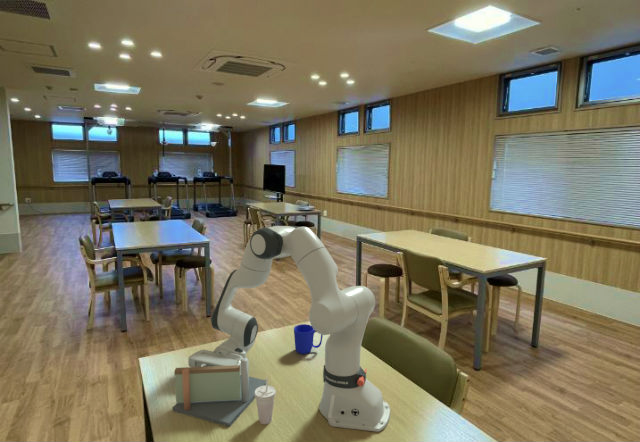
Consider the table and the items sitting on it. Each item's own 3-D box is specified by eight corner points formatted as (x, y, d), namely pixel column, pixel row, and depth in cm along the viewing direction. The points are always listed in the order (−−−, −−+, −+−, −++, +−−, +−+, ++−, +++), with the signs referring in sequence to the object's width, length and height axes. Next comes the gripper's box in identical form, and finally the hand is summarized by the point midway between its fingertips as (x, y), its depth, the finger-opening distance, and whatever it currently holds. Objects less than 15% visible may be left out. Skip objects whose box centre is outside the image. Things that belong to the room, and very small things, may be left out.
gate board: (267, 383, 136) (267, 343, 134) (229, 426, 114) (228, 379, 111) (217, 372, 143) (216, 333, 141) (172, 410, 121) (170, 365, 119)
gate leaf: (240, 396, 125) (239, 365, 124) (240, 399, 124) (239, 368, 122) (177, 399, 123) (175, 367, 121) (176, 403, 121) (174, 370, 120)
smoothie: (272, 428, 113) (271, 385, 111) (251, 425, 114) (250, 382, 112) (278, 415, 119) (278, 373, 117) (259, 412, 121) (258, 371, 118)
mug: (322, 356, 156) (322, 333, 154) (293, 355, 156) (293, 332, 154) (322, 346, 164) (323, 324, 162) (294, 346, 164) (294, 323, 163)
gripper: (201, 342, 144) (176, 360, 132) (249, 352, 138) (227, 371, 125) (202, 358, 145) (177, 377, 133) (249, 368, 139) (228, 389, 126)
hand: (202, 374), depth 129 cm, fingers closed
